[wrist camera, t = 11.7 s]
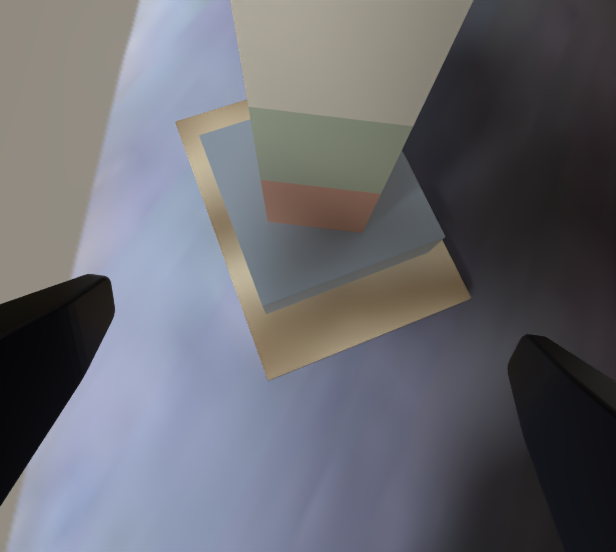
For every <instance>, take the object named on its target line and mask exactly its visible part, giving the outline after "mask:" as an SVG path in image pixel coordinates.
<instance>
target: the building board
mask: <svg viewBox="0 0 616 552" xmlns="http://www.w3.org/2000/svg"><path fill="white" fill-rule="evenodd" d="M249 119H250V114H249V108H248V102H247V100H244V101H241V102H238V103H235V104H231V105H228V106H225V107H222V108H218V109H215V110H212V111H209V112H205V113H202V114H199V115H196V116H193V117H189V118H186V119H183V120H180V121H176V122H175V123H176V125H177V128H178V131H179V134H180V137H181V139H182V142H183V145H184V148H185V150H186V153H187V156H188V159H189V162H190V164H191V167H192V170H193V173H194V176H195V178H196V181H197V184H198V187H199V189H200V192H201V195H202V198H203V201H204V203H205V206H206V209H207V212H208V215H209V217H210V220H211V223H212V226H213V229H214V231H215V234H216V237H217V240H218V242H219V245H220V248H221V251H222V254H223V256H224V259H225V262H226V265H227V268H228V270H229V273H230V276H231V279H232V282H233V284H234V287H235V290H236V293H237V295H238V298H239V301H240V304H241V307H242V309H243V312H244V315H245V318H246V321H247V323H248V326H249V329H250V332H251V335H252V337H253V340H254V343H255V346H256V348H257V351H258V354H259V357H260V360H261V362H262V365H263V368H264V371H265V374H266V376H267V379H268V380H271V379H274V378H276V377H279V376H281V375H284V374H286V373H289V372H291V371H294V370H296V369H299V368H301V367H304V366H306V365H309V364H311V363H314V362H316V361H319V360H321V359H323V358H326V357H328V356H331V355H333V354H336V353H338V352H341V351H343V350H346V349H348V348H351V347H353V346H356V345H358V344H361V343H363V342H366V341H368V340H371V339H373V338H375V337H378V336H380V335H383V334H385V333H388V332H390V331H393V330H395V329H398V328H400V327H403V326H405V325H408V324H410V323H413V322H415V321H418V320H420V319H423V318H425V317H428V316H430V315H432V314H435V313H437V312H440V311H442V310H445V309H447V308H450V307H452V306H455V305H457V304H460V303H462V302H464V301H467V300H469V299H471V297H470V295H469V293H468V291H467V289H466V287H465V285H464V283H463V280H462V278H461V276H460V274H459V272H458V270H457V268H456V266H455V264H454V262H453V260H452V258H451V256H450V254H449V252H448V250H447V248H446V246H445V244H444V242H443V240H441V241H440V242H439V243H438V244H437V245H436V246H435V247H434V248H433V249H432V250H431V251H430V252H428V253H426V254H423V255H421V256H418V257H415V258H413V259H410V260H408V261H405V262H402V263H400V264H397V265H395V266H392V267H389V268H387V269H384V270H381V271H379V272H376V273H374V274H371V275H368V276H366V277H363V278H360V279H358V280H355V281H353V282H350V283H347V284H345V285H342V286H339V287H337V288H334V289H332V290H329V291H326V292H324V293H321V294H319V295H316V296H313V297H311V298H308V299H305V300H303V301H300V302H298V303H295V304H292V305H290V306H287V307H284V308H282V309H279V310H277V311H274V312H271V313H269V314H266V313H265V311H264V309H263V306H262V304H261V301H260V298H259V296H258V293H257V290H256V287H255V285H254V282H253V279H252V277H251V274H250V271H249V269H248V266H247V263H246V261H245V258H244V255H243V252H242V250H241V247H240V244H239V242H238V239H237V236H236V234H235V231H234V228H233V226H232V223H231V220H230V217H229V215H228V212H227V209H226V207H225V204H224V201H223V199H222V196H221V193H220V190H219V188H218V185H217V182H216V180H215V177H214V174H213V172H212V169H211V166H210V164H209V161H208V158H207V155H206V153H205V150H204V147H203V145H202V142H201V139H200V137H199V135H202V134H205V133H208V132H211V131H215V130H218V129H221V128H224V127H227V126H230V125H234V124H237V123H240V122H243V121H246V120H249Z"/></svg>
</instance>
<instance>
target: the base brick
mask: <svg viewBox="0 0 616 552" xmlns="http://www.w3.org/2000/svg"><path fill="white" fill-rule="evenodd" d="M199 137H200V139H201V142H202V145H203V147H204V150H205V153H206V155H207V158H208V161H209V164H210V166H211V169H212V172H213V174H214V177H215V180H216V182H217V185H218V188H219V190H220V193H221V196H222V199H223V201H224V204H225V207H226V209H227V212H228V215H229V217H230V220H231V223H232V226H233V228H234V231H235V234H236V236H237V239H238V242H239V244H240V247H241V250H242V252H243V255H244V258H245V261H246V263H247V266H248V269H249V271H250V274H251V277H252V279H253V282H254V285H255V287H256V290H257V293H258V296H259V298H260V301H261V304H262V306H263V309H264V311H265V313H266V314H269V313H271V312H274V311H277V310H279V309H282V308H284V307H287V306H290V305H292V304H295V303H298V302H300V301H303V300H305V299H308V298H311V297H313V296H316V295H319V294H321V293H324V292H326V291H329V290H332V289H334V288H337V287H339V286H342V285H345V284H347V283H350V282H353V281H355V280H358V279H360V278H363V277H366V276H368V275H371V274H374V273H376V272H379V271H381V270H384V269H387V268H389V267H392V266H395V265H397V264H400V263H402V262H405V261H408V260H410V259H413V258H415V257H418V256H421V255H423V254H426V253H428V252H430V251H431V250H432V249H433V248H434V247H435V246H436V245H437V244H438V243H439V242H440V241H441V240H443V239H444V238H445V235H444V233H443V231H442V229H441V227H440V225H439V223H438V221H437V219H436V217H435V215H434V213H433V211H432V209H431V207H430V205H429V203H428V201H427V199H426V197H425V195H424V193H423V191H422V189H421V187H420V185H419V183H418V181H417V179H416V177H415V175H414V173H413V171H412V169H411V167H410V165H409V163H408V161H407V159H406V157H405V155H404V153H403V151H401V153H400V155H399V157H398V159H397V161H396V163H395V166H394V168H393V170H392V172H391V174H390V176H389V178H388V180H387V182H386V184H385V186H384V189H383V191H382V193H381V195H380V197H379V199H378V201H377V203H376V205H375V207H374V210H373V212H372V214H371V216H370V218H369V220H368V222H367V224H366V226H365V228H364V230H363V233H359V232H351V231H342V230H334V229H325V228H317V227H308V226H300V225H291V224H283V223H274V222H268V221H267V215H266V209H265V203H264V197H263V191H262V185H261V179H260V173H259V167H258V161H257V156H256V150H255V144H254V138H253V132H252V126H251V120H250V119H249V120H246V121H243V122H240V123H237V124H234V125H230V126H227V127H224V128H221V129H218V130H215V131H211V132H208V133H205V134H202V135H199Z"/></svg>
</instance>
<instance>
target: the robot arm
mask: <svg viewBox="0 0 616 552" xmlns="http://www.w3.org/2000/svg"><path fill="white" fill-rule="evenodd" d="M114 313H115V305H114V298H113V292H112V285H111V281H110V279H109V278H108V277H107V276H102V275H94V274H86V275H83V276H80V277H77V278H74V279H72V280H69V281H66V282H63V283H60V284H57V285H54V286H51V287H48V288H46V289H43V290H40V291H37V292H34V293H31V294H28V295H25V296H23V297H20V298H17V299H14V300H11V301H8V302H5V303H3V304H0V506H1V505H2V503H3V501H4V500H5V498H6V497H7V495H8V494H9V492H10V491H11V489H12V487H13V486H14V485H15V483H16V481H17V480H18V478H19V477H20V475H21V474H22V472H23V471H24V469H25V468H26V466H27V464H28V463H29V461H30V460H31V458H32V457H33V455H34V454H35V452H36V451H37V449H38V447H39V446H40V444H41V443H42V441H43V440H44V438H45V437H46V435H47V434H48V432H49V430H50V429H51V427H52V426H53V424H54V423H55V421H56V420H57V418H58V417H59V415H60V413H61V412H62V410H63V409H64V407H65V406H66V404H67V403H68V401H69V400H70V398H71V396H72V395H73V393H74V392H75V390H76V389H77V387H78V386H79V384H80V382H81V381H82V379H83V377H84V376H85V374H86V372H87V370H88V368H89V366H90V364H91V362H92V360H93V358H94V356H95V354H96V352H97V350H98V348H99V346H100V344H101V342H102V340H103V338H104V336H105V334H106V332H107V330H108V328H109V326H110V324H111V322H112V320H113V317H114ZM508 376H509V380H510V384H511V388H512V393H513V397H514V401H515V405H516V409H517V413H518V418H519V422H520V426H521V429H522V433H523V437H524V440H525V443H526V446H527V449H528V452H529V454H530V457H531V460H532V463H533V466H534V468H535V471H536V474H537V477H538V479H539V482H540V485H541V488H542V491H543V493H544V496H545V499H546V502H547V505H548V507H549V510H550V513H551V516H552V519H553V521H554V524H555V527H556V530H557V533H558V535H559V538H560V541H561V544H562V546H563V549H564V552H616V382H615V381H613V380H612V379H610V378H609V377H607V376H606V375H604V374H603V373H601V372H599V371H598V370H596V369H595V368H593V367H592V366H590V365H589V364H587V363H585V362H584V361H582V360H581V359H579V358H578V357H576V356H575V355H573V354H572V353H570V352H568V351H567V350H565V349H564V348H562V347H561V346H559V345H558V344H556V343H554V342H553V341H551V340H550V339H548V338H547V337H544V336H538V335H530V334H527V335H524V336H523V337H522V338H521V339H520V341H519V343H518V345H517V347H516V349H515V351H514V352H513V354H512V356H511V358H510V360H509V363H508Z"/></svg>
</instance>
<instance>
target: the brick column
mask: <svg viewBox="0 0 616 552" xmlns="http://www.w3.org/2000/svg"><path fill="white" fill-rule="evenodd" d="M472 2H473V0H231V6H232V12H233V18H234V24H235V30H236V36H237V42H238V48H239V54H240V60H241V66H242V72H243V78H244V84H245V90H246V96H247V102H248V108H249V114H250V120H251V126H252V132H253V138H254V144H255V150H256V156H257V161H258V167H259V173H260V179H261V185H262V191H263V197H264V203H265V209H266V215H267V221H268V222H274V223H283V224H291V225H300V226H308V227H317V228H325V229H334V230H342V231H351V232H359V233H363V230H364V228H365V226H366V224H367V222H368V220H369V218H370V216H371V214H372V212H373V210H374V207H375V205H376V203H377V201H378V199H379V197H380V195H381V193H382V191H383V189H384V186H385V184H386V182H387V180H388V178H389V176H390V174H391V172H392V170H393V168H394V166H395V163H396V161H397V159H398V157H399V155H400V153H401V151H402V149H403V147H404V145H405V142H406V140H407V138H408V136H409V134H410V132H411V130H412V128H413V126H414V124H415V122H416V119H417V117H418V115H419V113H420V111H421V109H422V107H423V105H424V103H425V101H426V98H427V96H428V94H429V92H430V90H431V88H432V86H433V84H434V82H435V80H436V78H437V75H438V73H439V71H440V69H441V67H442V65H443V63H444V61H445V59H446V57H447V54H448V52H449V50H450V48H451V46H452V44H453V42H454V40H455V38H456V36H457V34H458V31H459V29H460V27H461V25H462V23H463V21H464V19H465V17H466V15H467V13H468V10H469V8H470V6H471V4H472Z"/></svg>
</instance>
